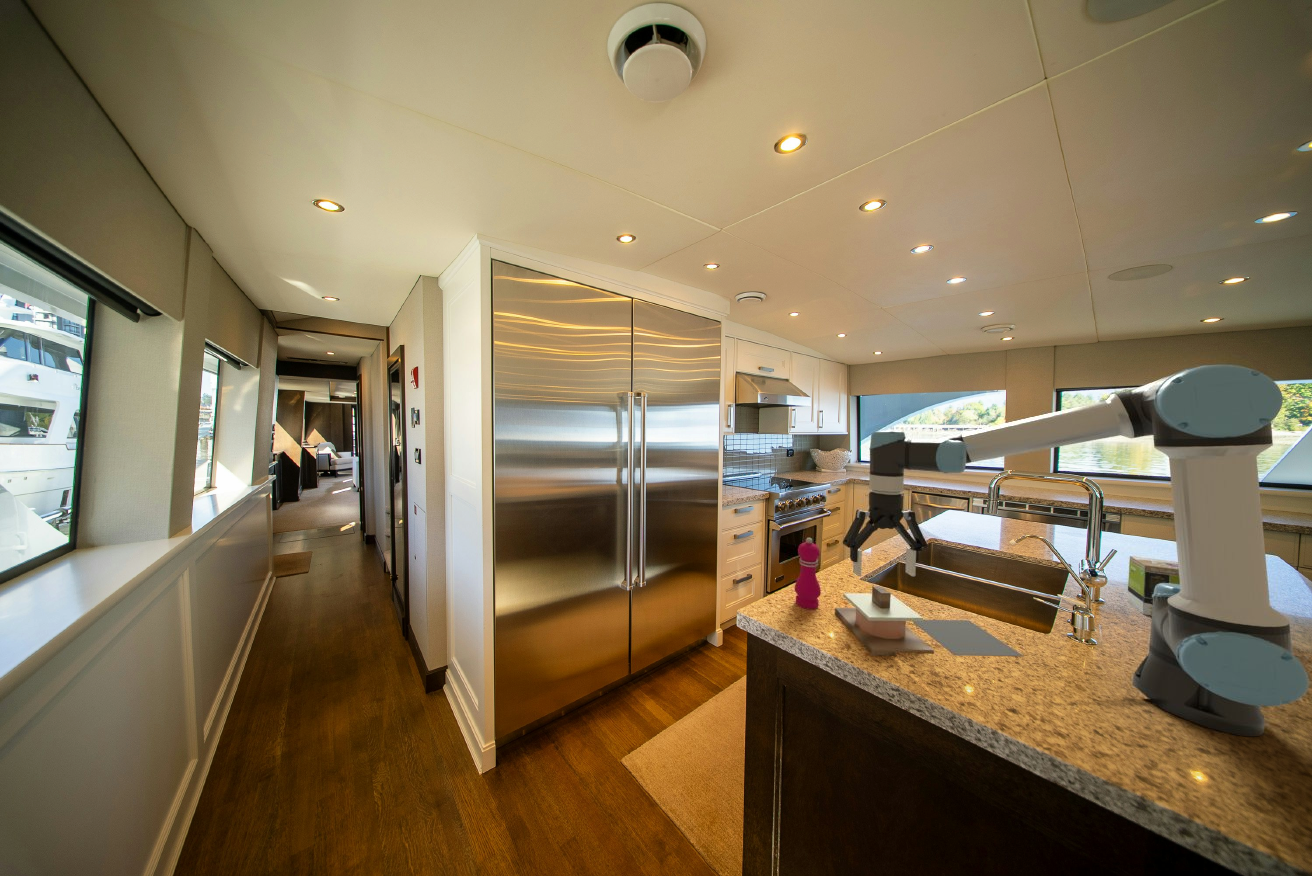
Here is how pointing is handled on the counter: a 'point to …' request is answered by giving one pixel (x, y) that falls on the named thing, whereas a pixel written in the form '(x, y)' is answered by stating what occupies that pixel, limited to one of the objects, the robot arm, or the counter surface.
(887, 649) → the board
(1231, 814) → the counter surface
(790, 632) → the counter surface
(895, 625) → the bowl
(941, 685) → the counter surface
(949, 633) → the mat
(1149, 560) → the tea box
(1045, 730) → the counter surface
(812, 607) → the pepper mill
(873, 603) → the lid
